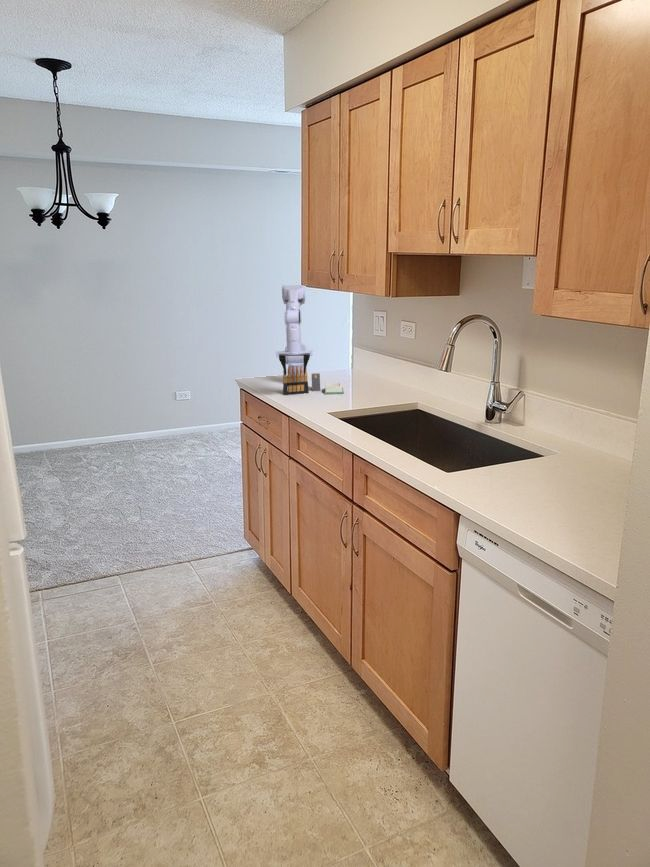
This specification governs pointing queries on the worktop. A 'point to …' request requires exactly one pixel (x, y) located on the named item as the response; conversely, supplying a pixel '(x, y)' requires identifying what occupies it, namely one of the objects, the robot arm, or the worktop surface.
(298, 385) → the ammunition clip
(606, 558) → the worktop surface
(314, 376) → the plug
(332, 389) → the board
